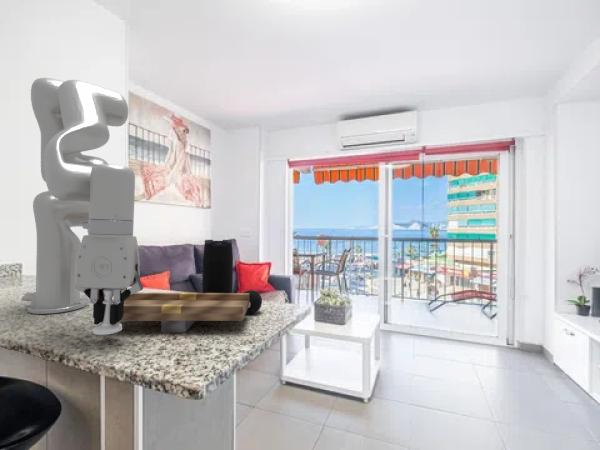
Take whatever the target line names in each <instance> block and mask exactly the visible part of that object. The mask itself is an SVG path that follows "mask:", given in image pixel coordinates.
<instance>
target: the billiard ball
mask: <svg viewBox="0 0 600 450" xmlns="http://www.w3.org/2000/svg"><path fill="white" fill-rule="evenodd" d="M243 293H249V307H248V309H247V311H246V314H254V313H257V312H258V311H260V309H261V307H262V304H263V300H262V299H263V298H262V296H261V294H260V293H259V292H258V291H256V290H254V289H253V290H252V289H250V290H246V291H244V292H243Z"/></svg>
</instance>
